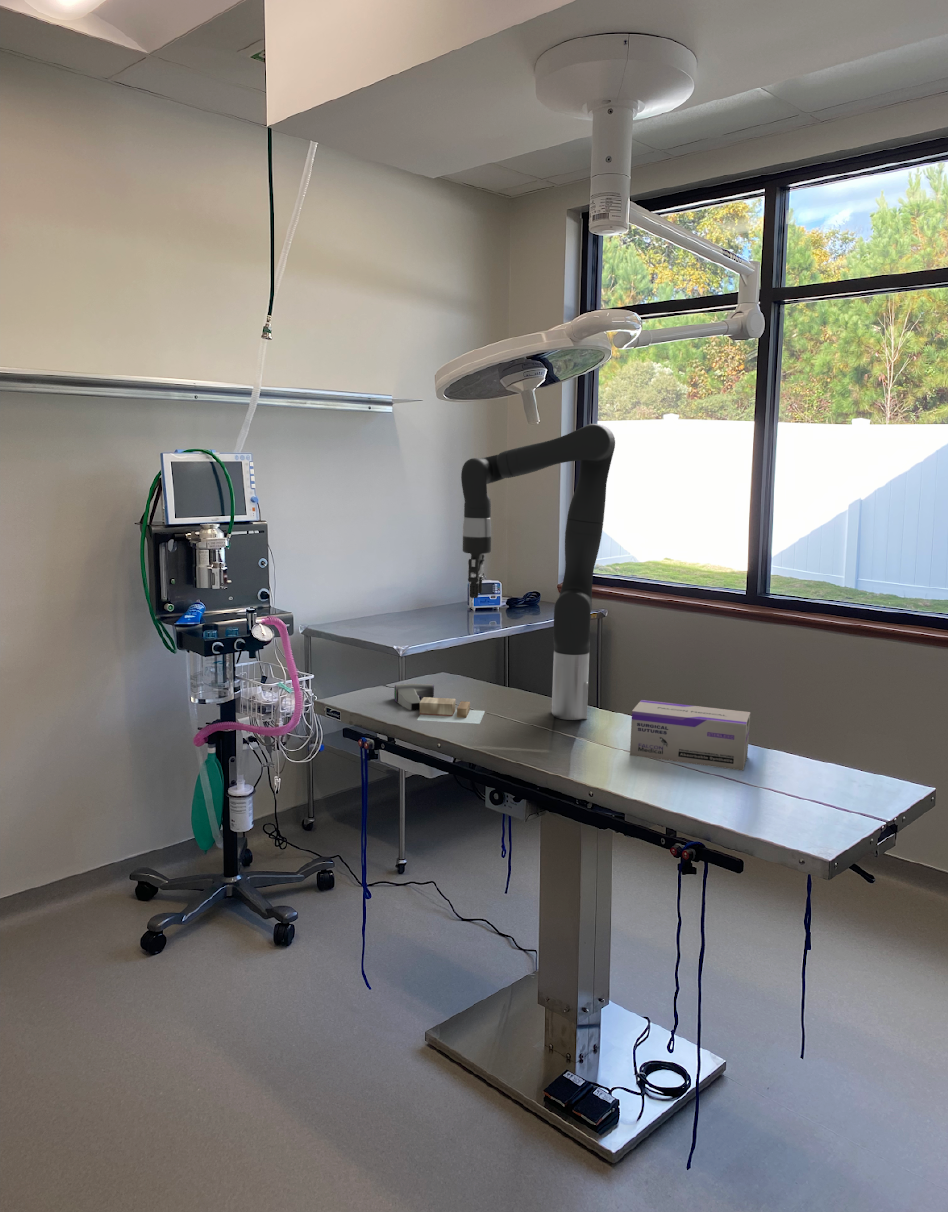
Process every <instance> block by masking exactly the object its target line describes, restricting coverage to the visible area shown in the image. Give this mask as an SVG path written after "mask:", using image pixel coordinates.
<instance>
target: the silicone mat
mask: <svg viewBox="0 0 948 1212" xmlns="http://www.w3.org/2000/svg"><path fill="white" fill-rule="evenodd" d="M485 713H486V712H485V710H475V709H474V710H473V709H470V711H469V713H468V715H467V717H466V718H458V717H457V708H455V712H454V714H453V716H436V715H420V714H419V716H418V718H417V719H416V721H421V722H435V723H436V722H439V723H455V724H456V723H457V724H474V725H480V724H481V721H482V719H483V717H484V714H485Z"/></svg>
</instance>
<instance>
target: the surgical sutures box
mask: <svg viewBox="0 0 948 1212" xmlns="http://www.w3.org/2000/svg"><path fill="white" fill-rule="evenodd" d="M750 724H751V711H745V710H744V711H743V710H734V709H724V708H718V707H717V708H716V707H709V706H708V707H707V706H700V705H699V706H698V705H690V704H689V705H688V704H681V703H674V702H673V703H672V702H664V701H656V700H655V701H654V700H647V699H641V700H640V701H639V702H638V703H637V704H636V705H635V706H634V708H633V709H632V710H631V725H630V741H629V742H630V746H629V747H630V748H629V756H632V757H640V758H647V759H654V760H655V759H656V760H662V761H668V762H669V761H671V762H677V763H684V764H692V765H698V766H699V765H700V766H706V767H714V768H721V769H729V770H736V771H744V769H745V766H746V762H747V758H748V752H749V739H750Z"/></svg>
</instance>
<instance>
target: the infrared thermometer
mask: <svg viewBox="0 0 948 1212" xmlns="http://www.w3.org/2000/svg"><path fill="white" fill-rule="evenodd" d="M393 691H394V692H393V693H394V694H393V695H394V696H393V698H394V700H395V701H394V702H395V703H397V704H399V705H400V706H402V708H405V709H407V710H409V711H420V701H421V700H422V699H423V697H431V698H435V697H434V696H435V695H434V694H435V685H434V684H432V683H431V684H428V683H427V684H426V683H405V684H404V683H402V684H395V685H394V690H393Z"/></svg>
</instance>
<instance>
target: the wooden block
mask: <svg viewBox="0 0 948 1212" xmlns="http://www.w3.org/2000/svg"><path fill="white" fill-rule="evenodd" d="M456 700H457V699H456V698H447V697H445V698H444V697H433V698H431V697H423V699H421V701H420V710H419V716H420V715H436V716H453V714H454V712H455V709H456Z"/></svg>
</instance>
